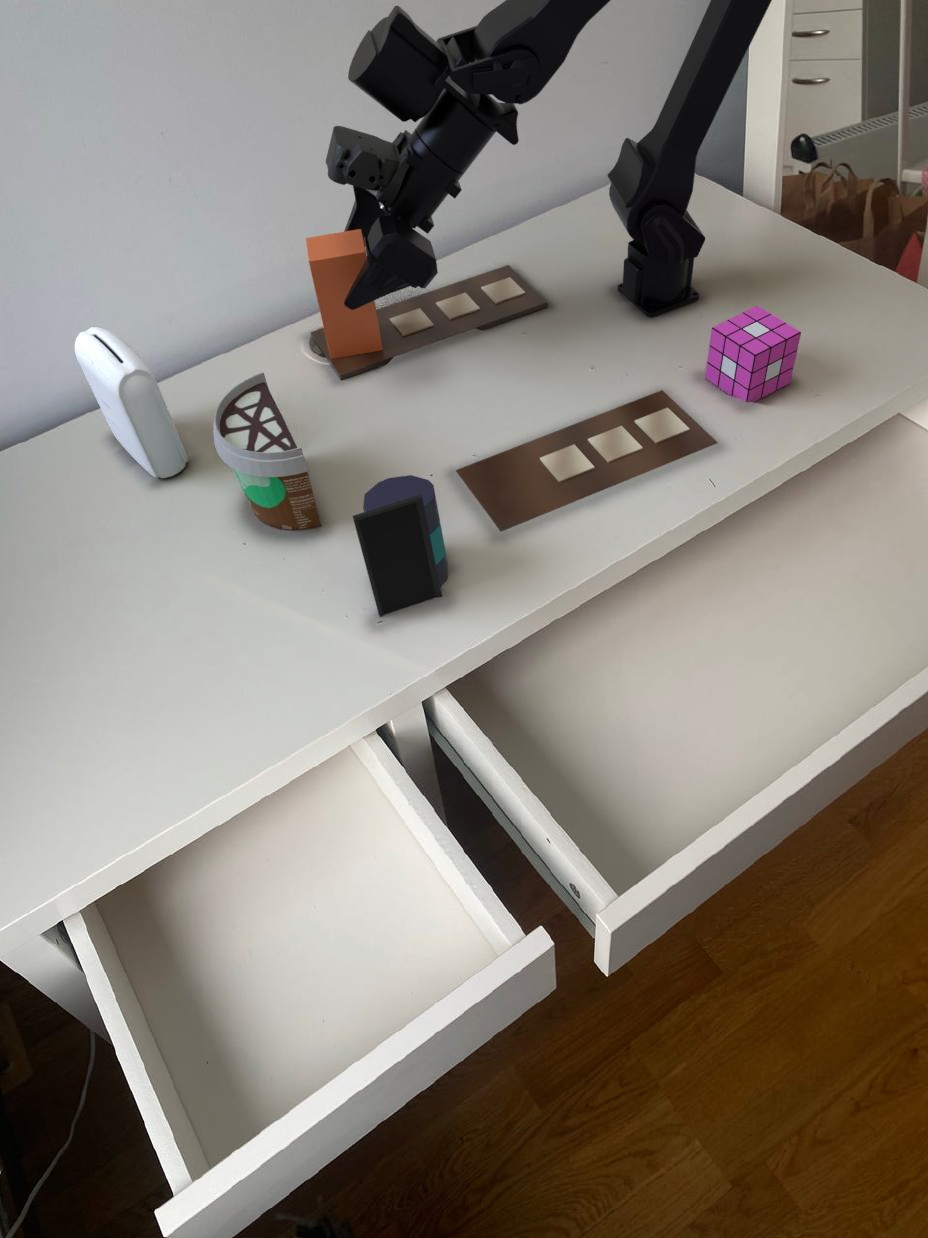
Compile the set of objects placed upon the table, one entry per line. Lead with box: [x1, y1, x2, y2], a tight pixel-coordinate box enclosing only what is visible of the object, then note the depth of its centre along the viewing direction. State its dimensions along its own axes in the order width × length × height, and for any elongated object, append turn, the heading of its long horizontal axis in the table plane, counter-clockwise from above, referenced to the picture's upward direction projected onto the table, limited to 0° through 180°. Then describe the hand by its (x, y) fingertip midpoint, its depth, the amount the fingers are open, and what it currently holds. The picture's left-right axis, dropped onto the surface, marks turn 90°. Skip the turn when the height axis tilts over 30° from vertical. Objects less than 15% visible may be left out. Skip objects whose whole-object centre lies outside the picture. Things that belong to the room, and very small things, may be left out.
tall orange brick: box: [305, 229, 383, 359], centre depth 95 cm, size 6×4×11 cm
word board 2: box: [455, 389, 719, 532], centre depth 85 cm, size 22×9×1 cm, turn 116°
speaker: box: [352, 474, 449, 618], centre depth 74 cm, size 8×6×10 cm
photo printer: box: [74, 326, 189, 479], centre depth 87 cm, size 10×4×12 cm, turn 39°
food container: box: [213, 371, 322, 532], centre depth 81 cm, size 12×6×10 cm, turn 23°
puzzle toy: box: [704, 305, 802, 403], centre depth 88 cm, size 6×6×6 cm
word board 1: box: [310, 264, 548, 381], centre depth 101 cm, size 24×9×1 cm, turn 116°
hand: (343, 281), depth 94 cm, fingers open, 9 cm apart
